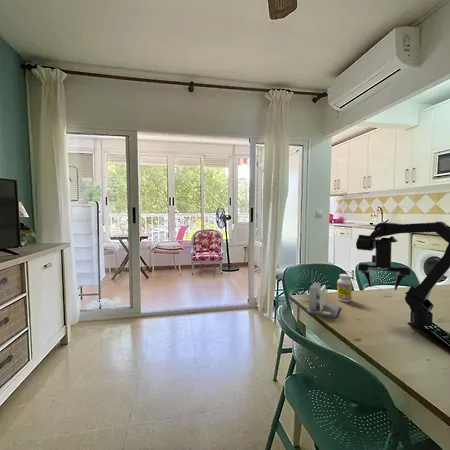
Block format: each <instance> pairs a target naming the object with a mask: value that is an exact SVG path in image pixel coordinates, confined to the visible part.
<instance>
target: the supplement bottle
mask: <svg viewBox="0 0 450 450" xmlns="http://www.w3.org/2000/svg"><path fill="white" fill-rule="evenodd" d="M350 278H351V276H350V274H347V273H340V274H339V279H337V282H336V283H337V284H336V286H337V287H336V289H337V291H336V300H338V301H340V302H346V303H347V302H348V303H349V302H351V301H352V292H353V291H352V289H353V288H352V286H353V285H352V281H351V280H350Z"/></svg>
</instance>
